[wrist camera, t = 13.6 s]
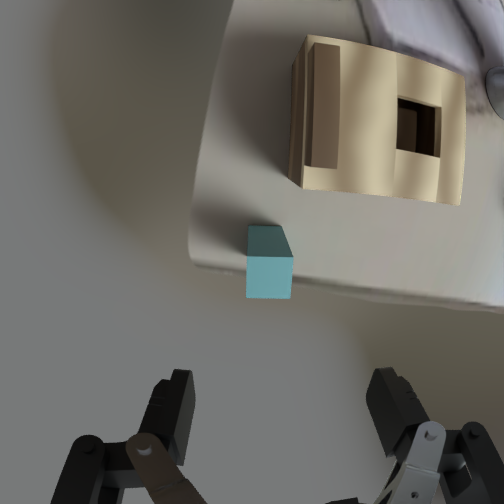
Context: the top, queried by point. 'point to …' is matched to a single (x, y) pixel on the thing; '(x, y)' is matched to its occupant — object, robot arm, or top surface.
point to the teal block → (268, 263)
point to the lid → (378, 123)
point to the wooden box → (408, 123)
